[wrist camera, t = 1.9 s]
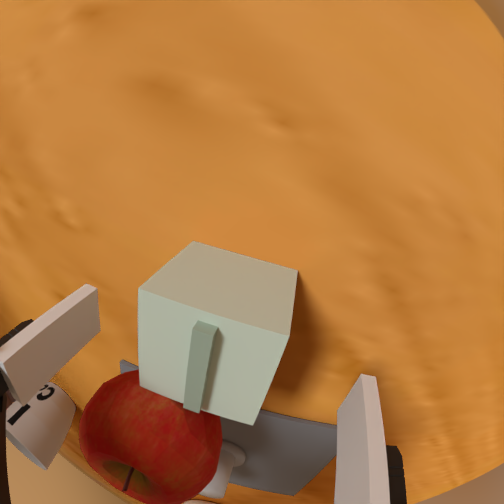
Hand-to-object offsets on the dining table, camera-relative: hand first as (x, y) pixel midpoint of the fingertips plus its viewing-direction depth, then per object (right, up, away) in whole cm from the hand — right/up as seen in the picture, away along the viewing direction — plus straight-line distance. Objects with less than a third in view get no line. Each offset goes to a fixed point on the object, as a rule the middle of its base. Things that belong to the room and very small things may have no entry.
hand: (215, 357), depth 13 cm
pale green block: (+1, +2, +4) cm, 5 cm away
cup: (-22, -14, +15) cm, 30 cm away
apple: (-3, -5, +8) cm, 9 cm away
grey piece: (-1, -14, +11) cm, 18 cm away
